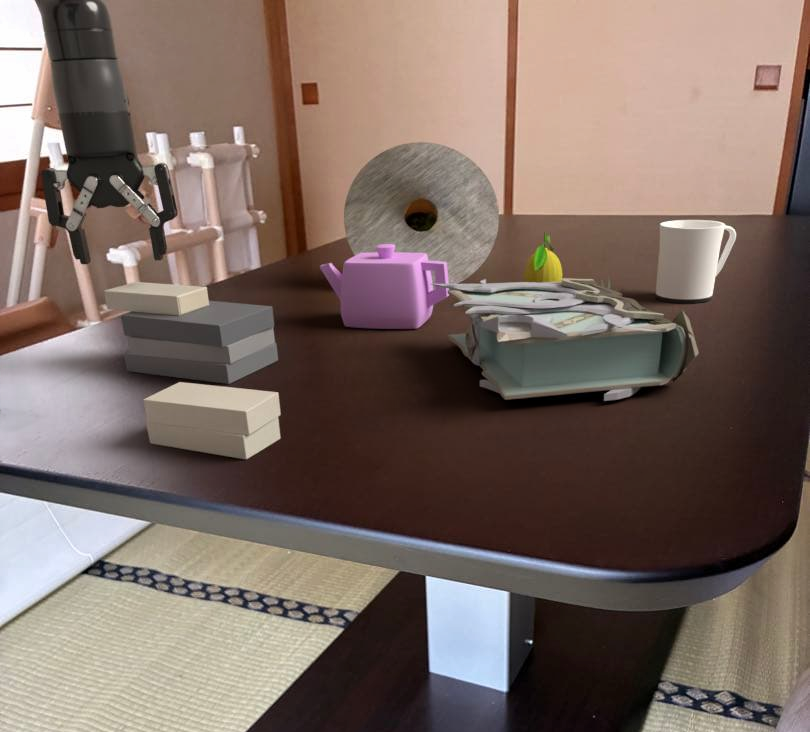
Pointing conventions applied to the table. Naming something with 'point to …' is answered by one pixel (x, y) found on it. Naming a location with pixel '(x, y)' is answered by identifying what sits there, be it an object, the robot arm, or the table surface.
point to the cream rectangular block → (157, 298)
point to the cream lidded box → (213, 419)
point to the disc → (424, 207)
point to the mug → (690, 259)
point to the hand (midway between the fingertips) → (122, 261)
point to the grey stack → (202, 342)
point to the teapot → (387, 288)
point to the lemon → (543, 265)
